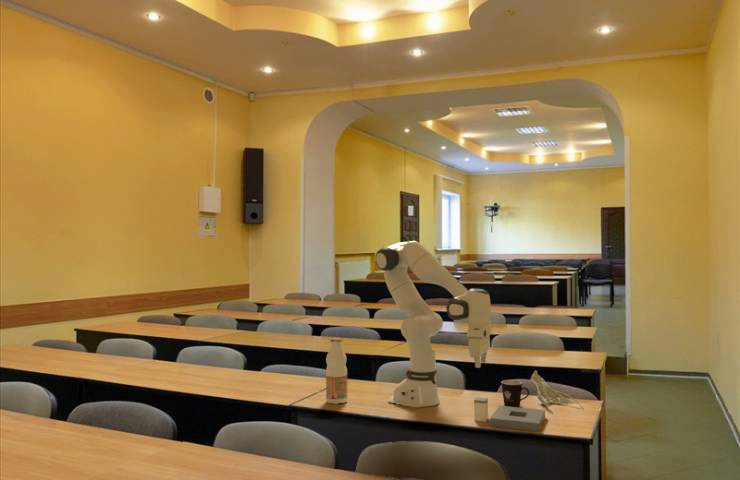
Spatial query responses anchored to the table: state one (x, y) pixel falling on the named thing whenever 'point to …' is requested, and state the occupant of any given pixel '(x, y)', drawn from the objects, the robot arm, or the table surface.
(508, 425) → the socket
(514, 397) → the coffee mug
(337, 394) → the fruit juice
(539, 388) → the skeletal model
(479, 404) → the toothpick box
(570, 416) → the table surface
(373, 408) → the table surface
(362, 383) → the table surface
